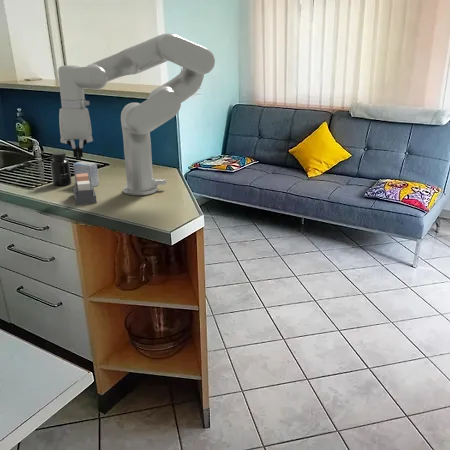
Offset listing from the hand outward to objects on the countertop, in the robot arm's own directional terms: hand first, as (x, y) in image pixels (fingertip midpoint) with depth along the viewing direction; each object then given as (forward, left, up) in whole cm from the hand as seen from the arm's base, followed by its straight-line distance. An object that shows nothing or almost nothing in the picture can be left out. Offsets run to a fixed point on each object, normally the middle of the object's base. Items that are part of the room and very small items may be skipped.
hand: (78, 159), depth 163 cm
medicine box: (-3, -14, -14) cm, 20 cm away
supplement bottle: (+6, -19, -14) cm, 24 cm away
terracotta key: (-1, 0, -9) cm, 9 cm away
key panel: (-1, +3, -14) cm, 14 cm away
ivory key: (-1, +6, -10) cm, 11 cm away
